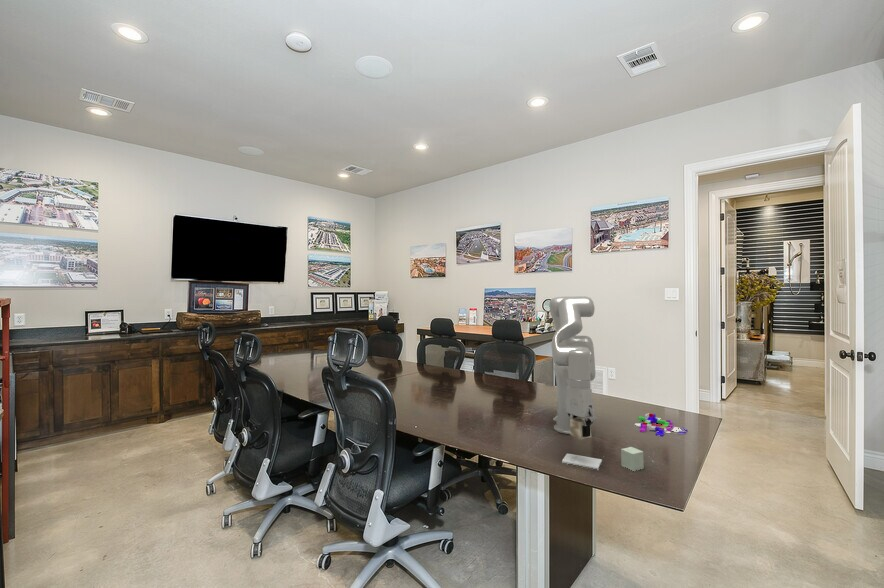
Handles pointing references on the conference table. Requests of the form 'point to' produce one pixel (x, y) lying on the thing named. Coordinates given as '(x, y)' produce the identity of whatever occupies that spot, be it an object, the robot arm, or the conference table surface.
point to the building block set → (651, 420)
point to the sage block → (632, 458)
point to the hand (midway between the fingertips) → (580, 433)
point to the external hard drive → (582, 461)
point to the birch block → (577, 428)
